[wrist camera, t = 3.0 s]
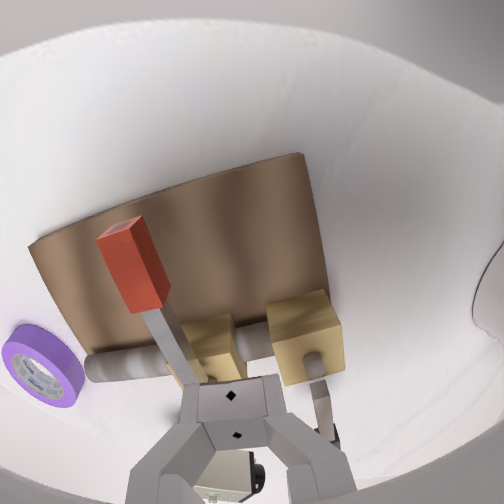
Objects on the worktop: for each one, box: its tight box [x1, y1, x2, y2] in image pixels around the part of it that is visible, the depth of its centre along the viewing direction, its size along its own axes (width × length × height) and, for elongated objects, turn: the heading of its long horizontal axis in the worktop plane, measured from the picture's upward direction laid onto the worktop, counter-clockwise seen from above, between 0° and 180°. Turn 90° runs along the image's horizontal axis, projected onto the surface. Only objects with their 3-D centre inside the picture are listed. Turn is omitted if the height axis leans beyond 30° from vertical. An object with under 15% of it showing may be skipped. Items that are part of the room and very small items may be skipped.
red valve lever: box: [96, 215, 217, 387], centre depth 17 cm, size 2×14×3 cm, turn 15°
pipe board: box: [28, 152, 345, 450], centre depth 23 cm, size 25×27×10 cm
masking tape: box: [2, 324, 85, 408], centre depth 27 cm, size 12×12×4 cm
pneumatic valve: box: [192, 449, 265, 503], centre depth 29 cm, size 6×12×12 cm, turn 67°
